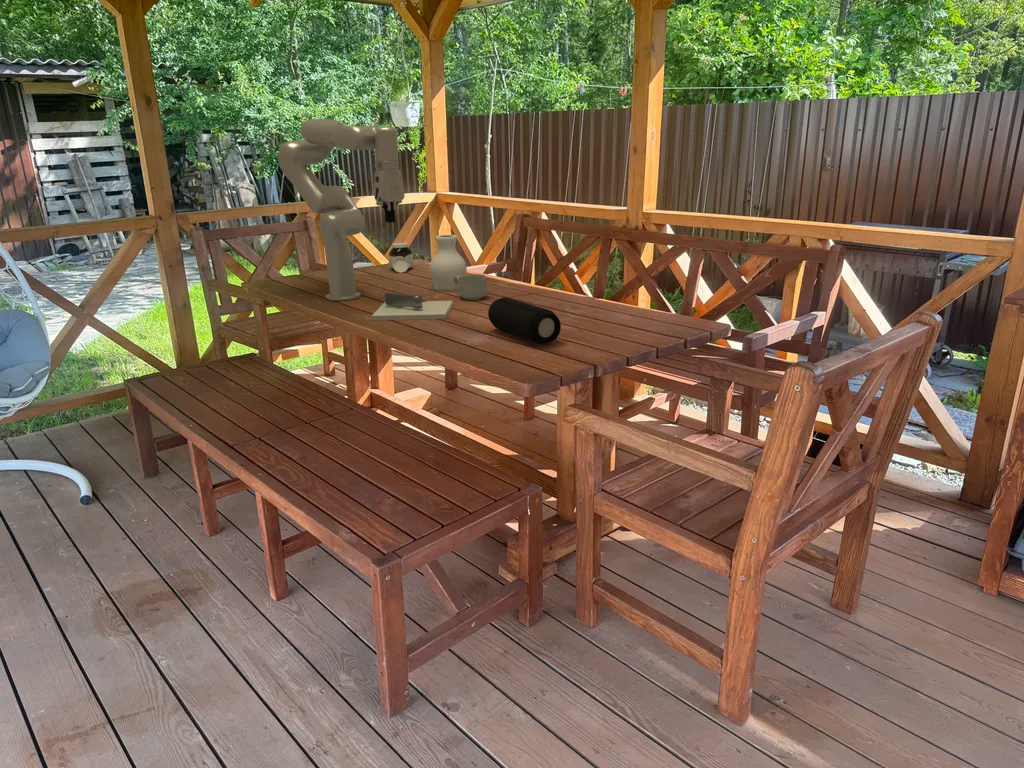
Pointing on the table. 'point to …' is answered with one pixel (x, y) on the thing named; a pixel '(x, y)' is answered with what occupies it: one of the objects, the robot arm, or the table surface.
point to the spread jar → (400, 257)
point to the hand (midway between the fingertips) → (390, 221)
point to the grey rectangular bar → (404, 300)
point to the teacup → (471, 286)
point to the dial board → (414, 311)
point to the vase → (446, 264)
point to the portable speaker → (524, 320)
